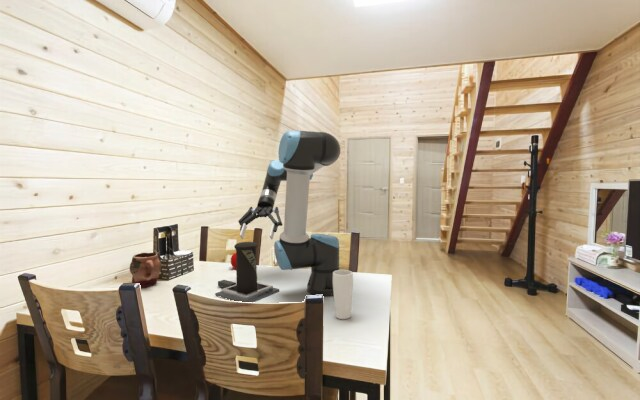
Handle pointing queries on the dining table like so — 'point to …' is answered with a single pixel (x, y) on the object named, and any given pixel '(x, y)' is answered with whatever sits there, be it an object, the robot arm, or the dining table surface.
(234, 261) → the fruit
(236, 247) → the container
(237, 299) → the base
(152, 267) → the decorative planter
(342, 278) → the drinking glass
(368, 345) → the dining table surface
